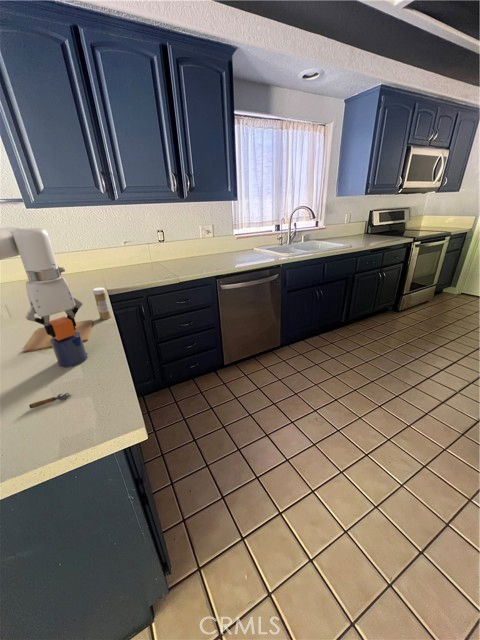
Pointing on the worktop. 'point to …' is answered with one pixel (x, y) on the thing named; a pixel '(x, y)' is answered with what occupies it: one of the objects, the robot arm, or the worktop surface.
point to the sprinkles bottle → (101, 303)
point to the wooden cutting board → (43, 339)
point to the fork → (49, 400)
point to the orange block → (62, 328)
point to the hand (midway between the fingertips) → (62, 331)
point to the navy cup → (69, 350)
